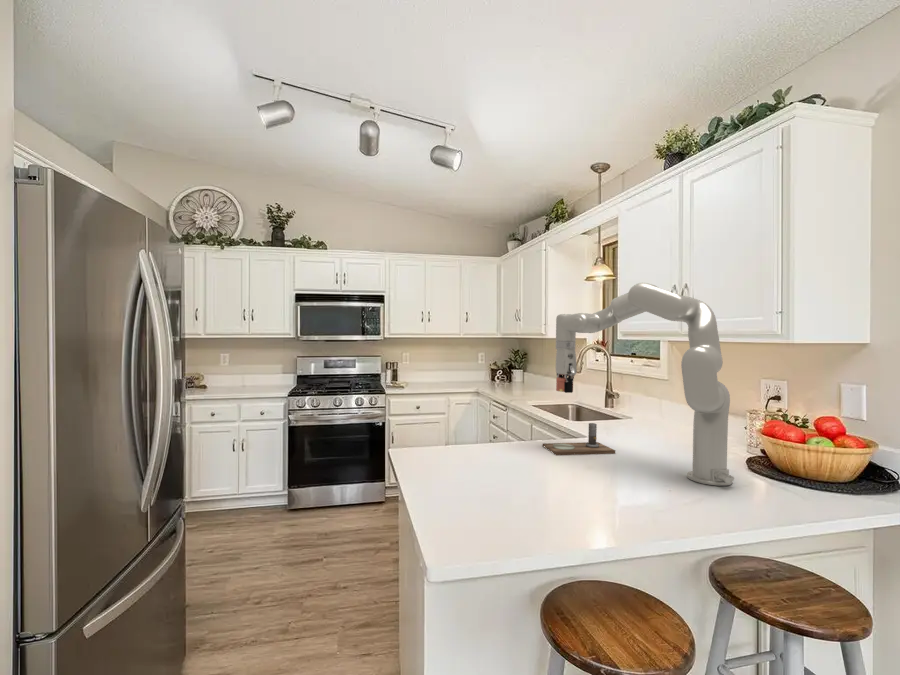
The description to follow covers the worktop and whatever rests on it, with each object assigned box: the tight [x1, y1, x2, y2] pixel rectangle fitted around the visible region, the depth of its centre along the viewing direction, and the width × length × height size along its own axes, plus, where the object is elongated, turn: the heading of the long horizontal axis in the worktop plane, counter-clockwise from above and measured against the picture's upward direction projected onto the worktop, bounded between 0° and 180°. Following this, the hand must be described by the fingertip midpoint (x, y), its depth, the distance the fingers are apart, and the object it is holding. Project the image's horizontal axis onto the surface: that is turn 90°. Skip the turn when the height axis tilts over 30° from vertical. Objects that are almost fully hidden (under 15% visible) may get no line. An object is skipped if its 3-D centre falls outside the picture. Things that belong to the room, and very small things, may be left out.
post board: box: [542, 422, 616, 456], centre depth 183 cm, size 14×24×10 cm, turn 100°
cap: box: [555, 377, 566, 393], centre depth 182 cm, size 8×6×5 cm
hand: (564, 391), depth 182 cm, fingers closed on cap, 6 cm apart
